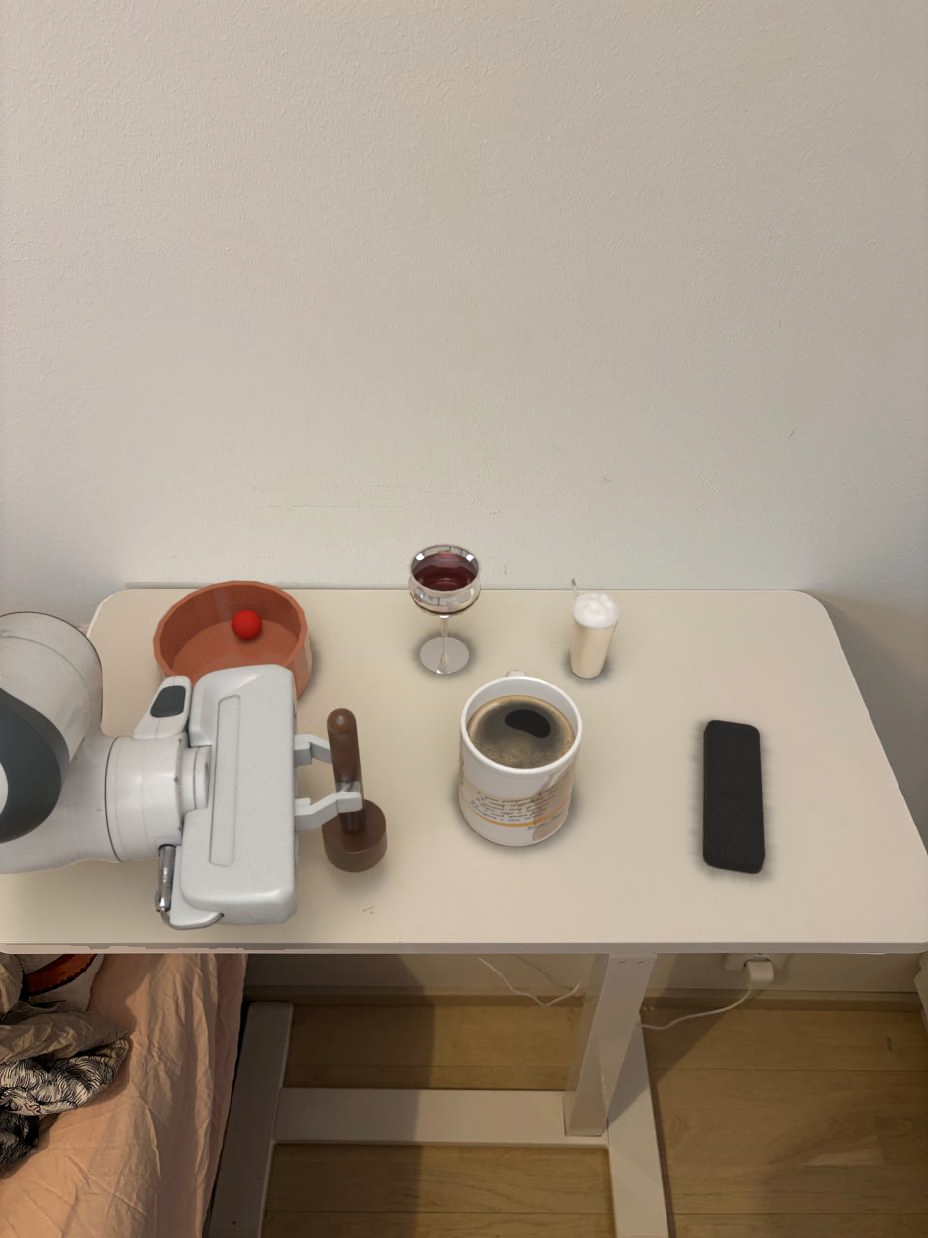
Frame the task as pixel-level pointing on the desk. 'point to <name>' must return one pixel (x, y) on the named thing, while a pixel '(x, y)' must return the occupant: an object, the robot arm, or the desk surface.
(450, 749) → the desk surface
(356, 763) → the brown plunger
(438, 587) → the wineglass
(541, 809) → the mug
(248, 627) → the tomato
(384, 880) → the desk surface
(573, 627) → the milkshake
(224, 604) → the bowl
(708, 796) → the remote control
